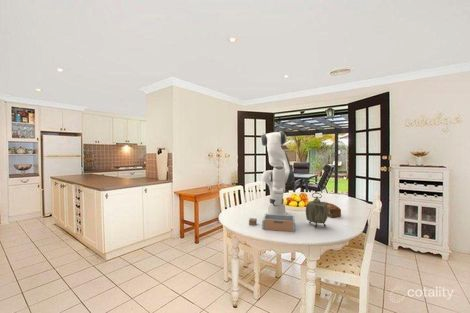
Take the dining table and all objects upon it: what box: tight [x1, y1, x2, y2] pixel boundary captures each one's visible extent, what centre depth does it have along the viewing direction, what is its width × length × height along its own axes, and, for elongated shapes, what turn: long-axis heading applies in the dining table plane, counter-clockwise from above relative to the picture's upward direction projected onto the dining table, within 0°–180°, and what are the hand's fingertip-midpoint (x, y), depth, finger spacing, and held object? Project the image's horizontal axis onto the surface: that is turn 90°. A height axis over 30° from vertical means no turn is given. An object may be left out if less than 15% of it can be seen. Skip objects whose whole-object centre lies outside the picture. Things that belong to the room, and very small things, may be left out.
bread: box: [323, 201, 342, 218], centre depth 193 cm, size 19×11×10 cm, turn 16°
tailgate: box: [264, 219, 294, 233], centre depth 151 cm, size 1×19×7 cm, turn 77°
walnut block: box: [248, 217, 258, 226], centre depth 164 cm, size 5×5×5 cm
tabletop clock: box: [305, 192, 329, 228], centre depth 162 cm, size 14×9×25 cm, turn 59°
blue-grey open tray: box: [261, 213, 296, 233], centre depth 159 cm, size 17×22×7 cm
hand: (278, 208), depth 157 cm, fingers closed
